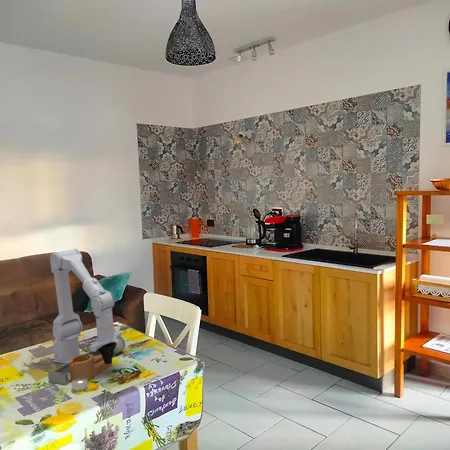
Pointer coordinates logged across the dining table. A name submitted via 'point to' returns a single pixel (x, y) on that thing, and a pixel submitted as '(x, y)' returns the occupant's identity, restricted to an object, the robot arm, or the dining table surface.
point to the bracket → (86, 366)
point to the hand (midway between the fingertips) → (108, 363)
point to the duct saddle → (60, 373)
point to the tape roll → (79, 384)
